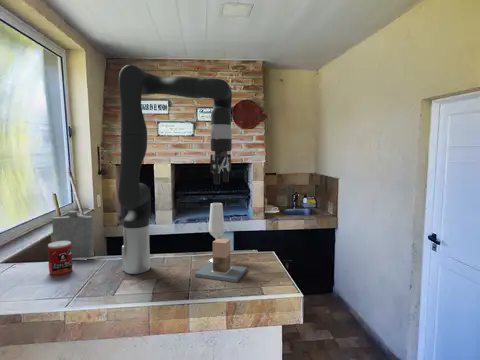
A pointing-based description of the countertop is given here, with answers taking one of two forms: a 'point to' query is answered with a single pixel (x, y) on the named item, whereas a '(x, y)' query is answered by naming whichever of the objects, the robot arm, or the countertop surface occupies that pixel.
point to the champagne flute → (216, 221)
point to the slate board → (221, 273)
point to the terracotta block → (221, 248)
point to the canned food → (60, 257)
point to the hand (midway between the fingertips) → (221, 183)
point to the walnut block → (221, 264)
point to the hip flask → (75, 233)
